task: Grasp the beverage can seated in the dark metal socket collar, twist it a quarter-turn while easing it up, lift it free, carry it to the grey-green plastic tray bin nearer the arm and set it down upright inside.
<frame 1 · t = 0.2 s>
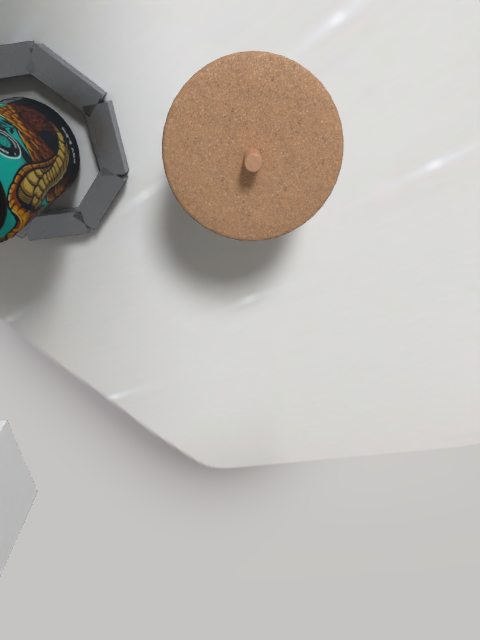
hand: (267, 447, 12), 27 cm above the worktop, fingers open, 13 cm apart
socket collar: (34, 148, 34), on the worktop
lidded jar: (250, 132, 34), on the worktop
beverage can: (35, 147, 34), resting in socket collar
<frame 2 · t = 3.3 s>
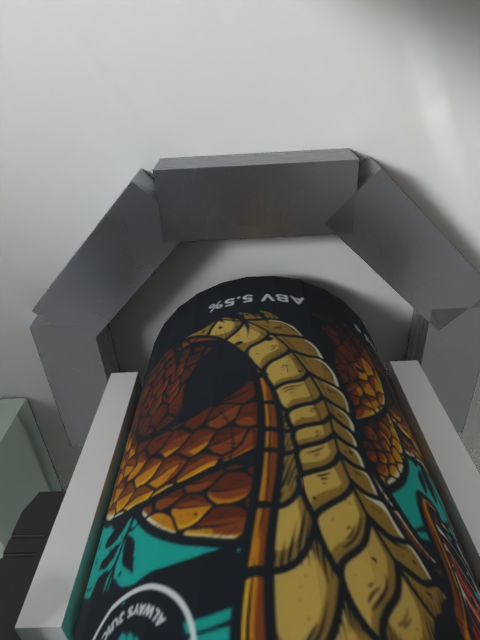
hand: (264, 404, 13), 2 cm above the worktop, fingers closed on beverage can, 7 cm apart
socket collar: (261, 360, 15), on the worktop
beverage can: (261, 357, 15), resting in socket collar, touching gripper
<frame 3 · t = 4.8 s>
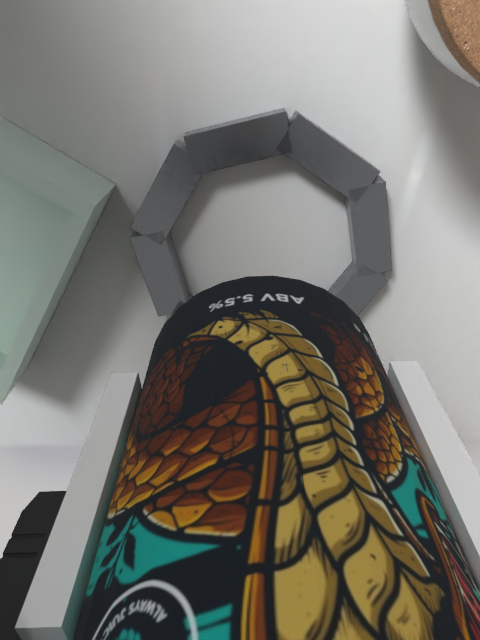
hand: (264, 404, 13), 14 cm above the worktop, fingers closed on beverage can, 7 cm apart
socket collar: (262, 246, 25), on the worktop
beverage can: (261, 356, 15), point 11 cm above the worktop, touching gripper
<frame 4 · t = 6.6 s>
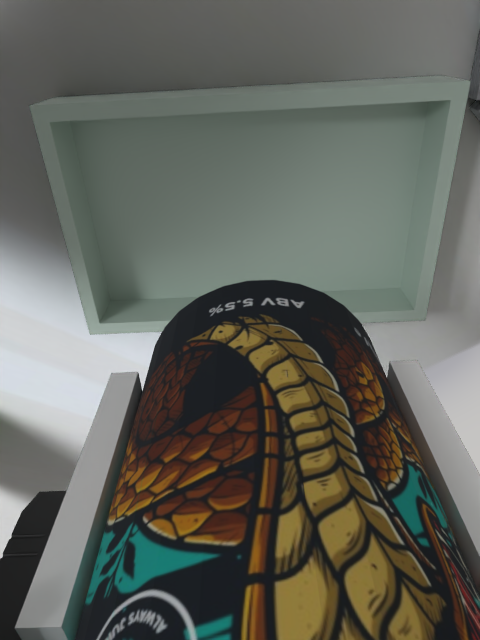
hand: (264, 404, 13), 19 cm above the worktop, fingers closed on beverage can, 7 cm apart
tray bin: (250, 205, 29), on the worktop
beverage can: (261, 360, 15), point 16 cm above the worktop, touching gripper
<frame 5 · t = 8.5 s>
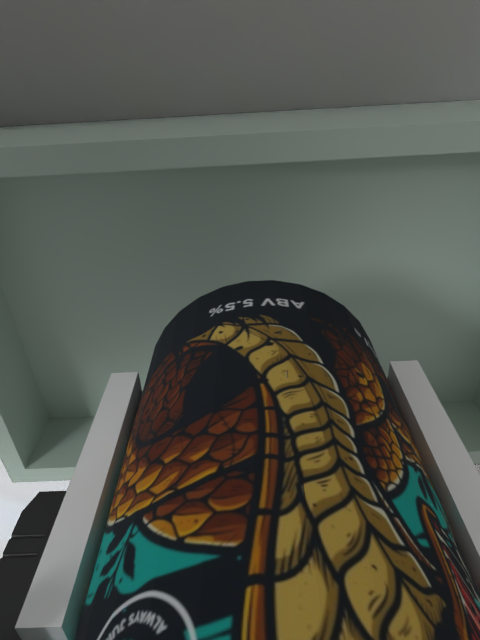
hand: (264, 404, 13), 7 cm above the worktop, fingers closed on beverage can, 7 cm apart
tray bin: (254, 289, 19), on the worktop
beverage can: (261, 360, 15), point 5 cm above the worktop, touching gripper
when the fingers open (4 cm above the worktop, at t = 9.9 s): beverage can drops 1 cm, resting on tray bin.
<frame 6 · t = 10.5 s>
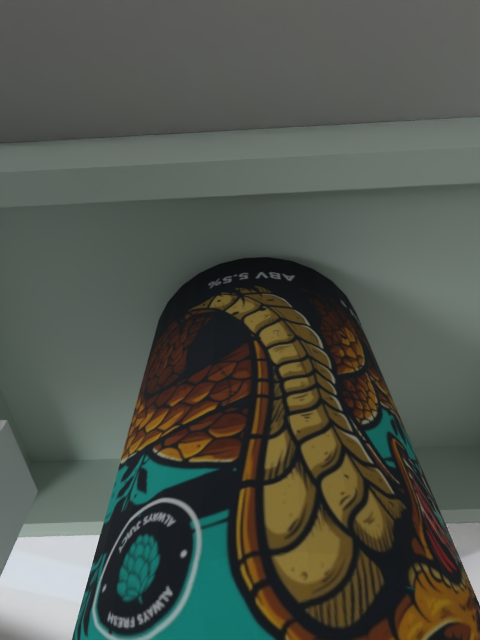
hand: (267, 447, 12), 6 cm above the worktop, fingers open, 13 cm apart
tray bin: (258, 324, 17), on the worktop
beverage can: (256, 334, 17), point 1 cm above the worktop, touching tray bin
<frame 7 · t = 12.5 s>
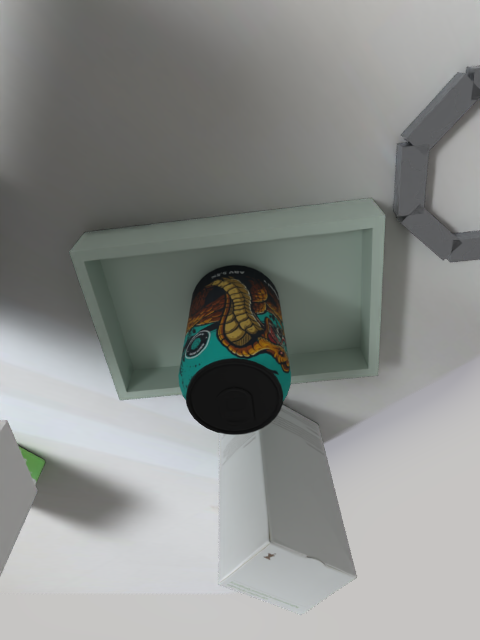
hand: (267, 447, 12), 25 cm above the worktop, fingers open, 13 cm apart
ink box: (7, 467, 49), on the worktop
tray bin: (236, 294, 38), on the worktop
skincare box: (271, 423, 46), on the worktop
beverage can: (235, 299, 37), point 1 cm above the worktop, touching tray bin
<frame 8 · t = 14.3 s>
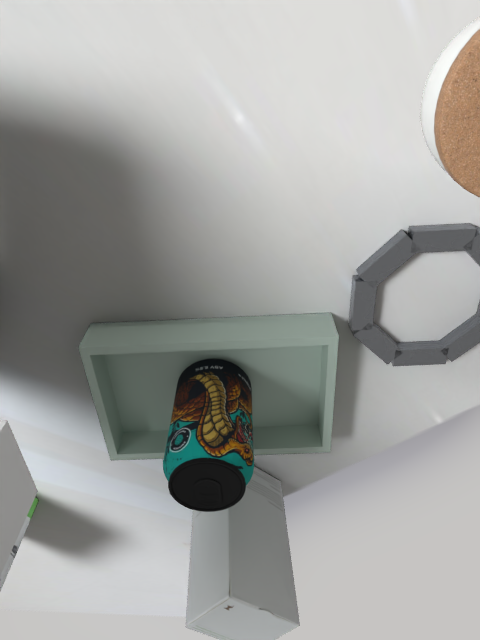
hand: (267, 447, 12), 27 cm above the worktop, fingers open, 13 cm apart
ink box: (3, 503, 55), on the worktop
socket collar: (426, 296, 40), on the worktop
lidded jar: (476, 92, 32), on the worktop
tray bin: (216, 377, 45), on the worktop
skincare box: (240, 478, 53), on the worktop
beverage can: (214, 381, 44), point 1 cm above the worktop, touching tray bin
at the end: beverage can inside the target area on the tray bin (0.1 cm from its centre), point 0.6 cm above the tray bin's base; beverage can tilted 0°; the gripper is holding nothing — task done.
